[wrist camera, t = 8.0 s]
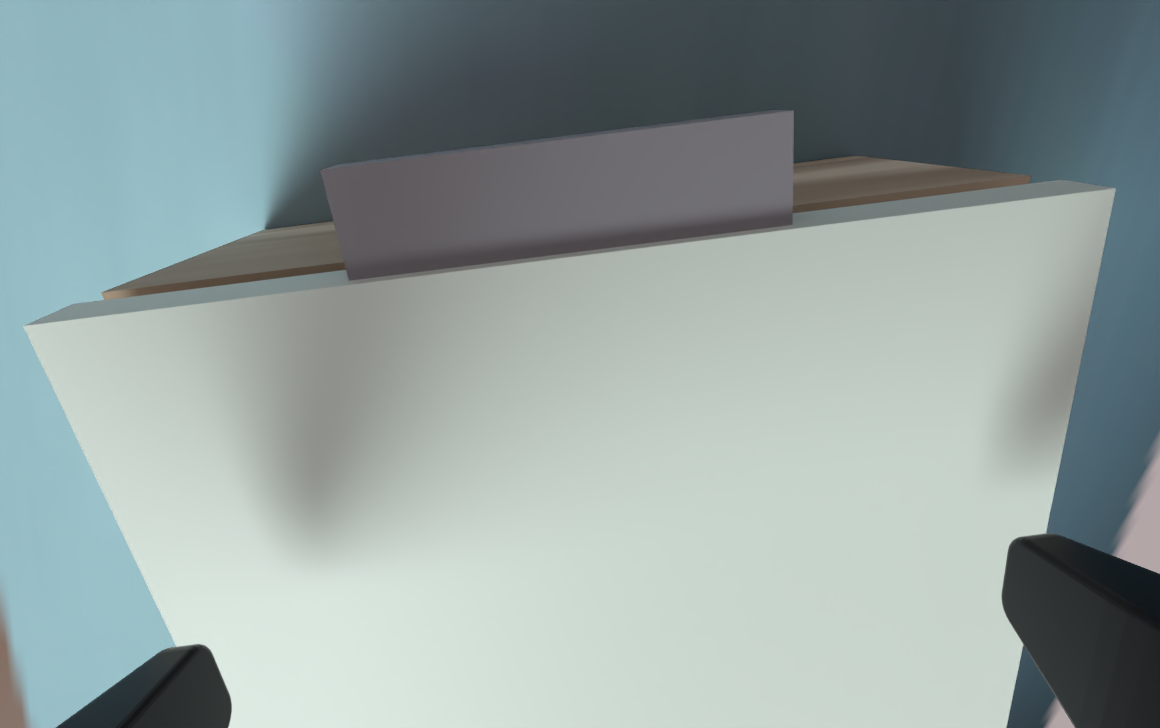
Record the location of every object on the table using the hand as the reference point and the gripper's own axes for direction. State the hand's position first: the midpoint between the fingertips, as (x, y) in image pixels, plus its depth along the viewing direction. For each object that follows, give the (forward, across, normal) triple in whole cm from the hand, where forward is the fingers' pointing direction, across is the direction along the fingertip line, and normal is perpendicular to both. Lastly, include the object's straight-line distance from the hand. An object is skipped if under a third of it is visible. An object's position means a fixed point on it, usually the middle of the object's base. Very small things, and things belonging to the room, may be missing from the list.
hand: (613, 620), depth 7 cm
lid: (+2, 0, +3) cm, 4 cm away
